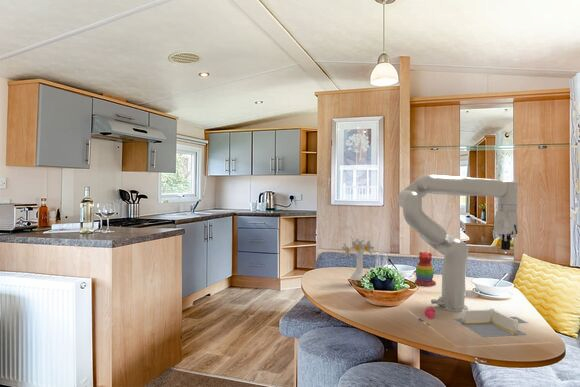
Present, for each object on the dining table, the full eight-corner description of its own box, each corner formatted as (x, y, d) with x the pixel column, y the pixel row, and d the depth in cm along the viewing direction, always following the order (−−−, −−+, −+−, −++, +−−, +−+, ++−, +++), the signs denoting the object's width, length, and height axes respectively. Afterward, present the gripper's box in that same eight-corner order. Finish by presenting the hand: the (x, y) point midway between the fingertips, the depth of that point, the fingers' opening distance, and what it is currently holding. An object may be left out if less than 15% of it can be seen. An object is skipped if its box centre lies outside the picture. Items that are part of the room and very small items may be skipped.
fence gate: (492, 321, 152) (492, 310, 152) (495, 321, 152) (495, 309, 152) (515, 333, 141) (515, 320, 140) (518, 333, 141) (518, 320, 141)
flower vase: (337, 284, 205) (338, 238, 204) (362, 280, 216) (363, 236, 215) (354, 290, 194) (356, 242, 194) (379, 285, 205) (380, 239, 204)
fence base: (482, 338, 137) (483, 323, 137) (454, 320, 155) (454, 306, 155) (551, 335, 142) (551, 320, 141) (515, 318, 159) (516, 304, 159)
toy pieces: (411, 316, 159) (411, 306, 159) (436, 315, 161) (436, 305, 161) (425, 327, 147) (426, 316, 147) (452, 326, 149) (452, 315, 149)
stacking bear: (436, 283, 212) (437, 252, 212) (432, 287, 204) (433, 254, 203) (416, 280, 218) (417, 249, 217) (412, 284, 210) (413, 252, 209)
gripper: (488, 207, 175) (486, 246, 176) (511, 209, 160) (510, 252, 161) (502, 207, 176) (501, 246, 177) (527, 209, 161) (525, 252, 162)
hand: (505, 249), depth 169 cm, fingers closed
